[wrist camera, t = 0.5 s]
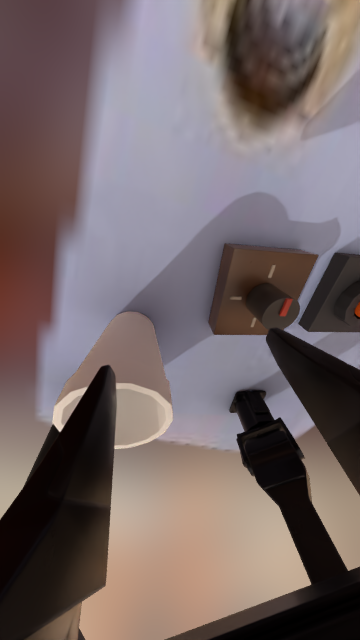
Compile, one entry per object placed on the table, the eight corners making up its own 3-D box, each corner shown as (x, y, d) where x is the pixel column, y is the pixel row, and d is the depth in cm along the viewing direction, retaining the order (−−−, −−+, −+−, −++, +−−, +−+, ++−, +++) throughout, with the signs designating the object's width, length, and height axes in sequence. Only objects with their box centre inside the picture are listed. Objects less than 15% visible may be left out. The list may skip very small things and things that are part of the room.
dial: (270, 313, 24) (292, 332, 20) (241, 312, 23) (258, 332, 19) (282, 284, 21) (308, 299, 18) (251, 282, 21) (271, 298, 17)
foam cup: (104, 291, 22) (57, 371, 11) (174, 312, 25) (190, 392, 14) (92, 348, 27) (49, 446, 16) (153, 360, 29) (152, 451, 18)
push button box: (350, 324, 31) (375, 339, 27) (298, 324, 29) (317, 339, 26) (396, 257, 25) (434, 265, 22) (334, 252, 23) (365, 260, 20)
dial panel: (269, 323, 28) (281, 335, 26) (208, 322, 27) (214, 335, 24) (300, 249, 23) (320, 255, 20) (224, 243, 21) (234, 248, 18)
